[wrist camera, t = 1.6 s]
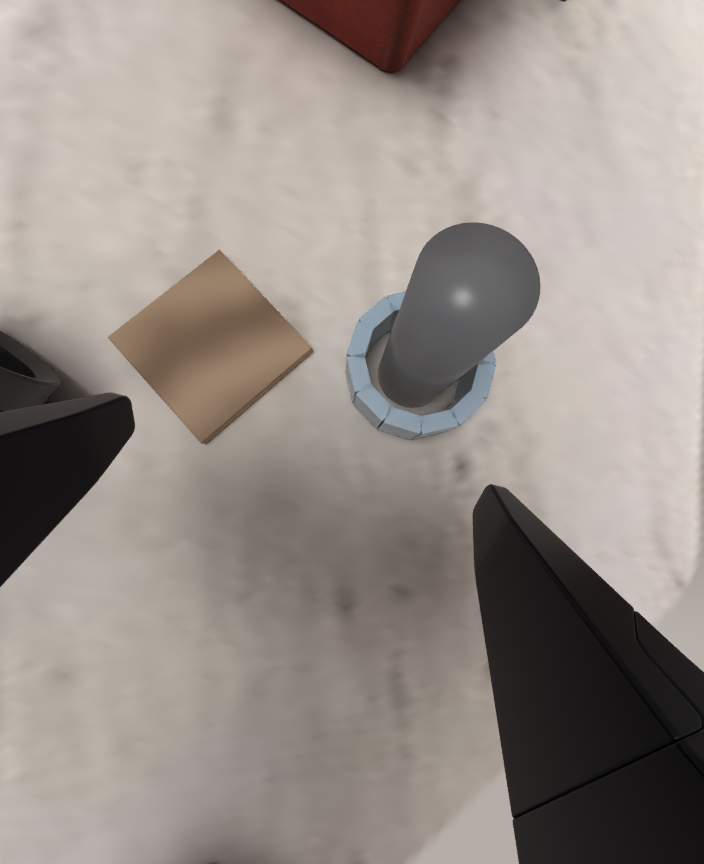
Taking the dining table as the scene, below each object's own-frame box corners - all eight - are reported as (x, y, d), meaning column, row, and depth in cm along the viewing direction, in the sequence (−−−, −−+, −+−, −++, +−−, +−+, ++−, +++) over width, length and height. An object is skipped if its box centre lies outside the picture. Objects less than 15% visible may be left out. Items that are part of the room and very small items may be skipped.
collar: (499, 378, 23) (523, 364, 20) (409, 464, 22) (420, 462, 19) (412, 290, 23) (423, 263, 20) (321, 370, 22) (318, 354, 20)
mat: (312, 352, 23) (311, 347, 22) (206, 444, 22) (201, 442, 21) (223, 257, 23) (219, 249, 22) (115, 342, 22) (107, 337, 21)
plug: (457, 376, 23) (565, 286, 12) (410, 421, 22) (478, 368, 11) (411, 329, 23) (476, 199, 12) (364, 372, 23) (387, 275, 12)
